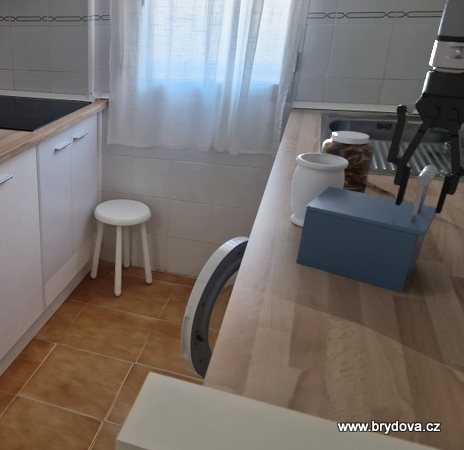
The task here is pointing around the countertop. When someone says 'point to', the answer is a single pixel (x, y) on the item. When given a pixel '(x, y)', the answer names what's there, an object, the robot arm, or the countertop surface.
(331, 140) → the jar
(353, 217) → the lid
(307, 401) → the countertop surface
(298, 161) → the jar
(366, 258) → the blue lidded box
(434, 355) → the countertop surface
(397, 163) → the robot arm
